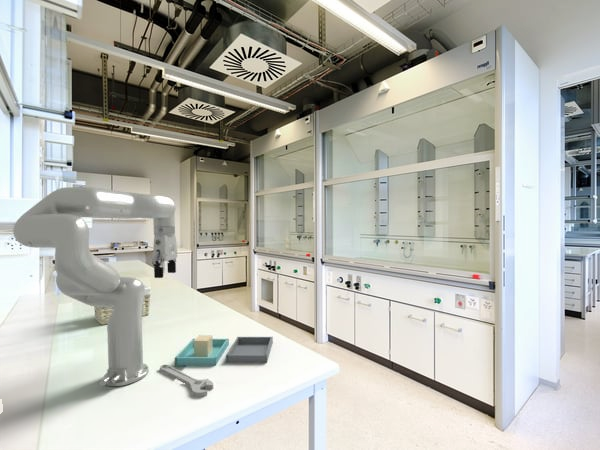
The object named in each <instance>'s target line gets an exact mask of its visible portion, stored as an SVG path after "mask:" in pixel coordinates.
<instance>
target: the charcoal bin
mask: <svg viewBox="0 0 600 450" xmlns="http://www.w3.org/2000/svg"><path fill="white" fill-rule="evenodd" d="M273 338H274V336H237V337H236V339H235V340H234V342H233V344H232V345H231V347H230V348H229V350H228V352H227V354H226V355H225V357H226V361H225V363H230V364H231V363H232V364H233V363H236V364H237V363H244V364H246V363H249V364H251V363H252V364H253V363H259V364H261V363H266V364H267V363H268V360H269V357H270V353H271V350H272V347H273V344H274V341H273V340H274V339H273Z"/></svg>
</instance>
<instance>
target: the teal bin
mask: <svg viewBox="0 0 600 450" xmlns="http://www.w3.org/2000/svg"><path fill="white" fill-rule="evenodd" d="M195 339H196V338H192V339H191V340H190V342H189V343H187V344H186V345H185V347H184V348H183V349H182V350H181V351H179V353H178V354H177V355H176V356H175V357H174V368H186V367H187V366H217V365H218V363H219V361H220V359H221V358H222V357H223V355H224V354H225V351H227V349H228V347H229V345H230V342H229V341H230V340H229V338H212V342H213V352H212V353H211V354H210V355H209V357H194V340H195Z"/></svg>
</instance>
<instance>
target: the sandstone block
mask: <svg viewBox="0 0 600 450" xmlns="http://www.w3.org/2000/svg"><path fill="white" fill-rule="evenodd" d="M194 339H195V340H194V357H209V355H210V354H211V353H212V352H213V342H212V339H213V335H208V334H207V335H206V334H200V335H198V336H197V337H195V338H194Z"/></svg>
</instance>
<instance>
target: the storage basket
mask: <svg viewBox="0 0 600 450" xmlns="http://www.w3.org/2000/svg"><path fill="white" fill-rule="evenodd" d="M143 285H144V288H145V293H144V299H143V304H142V317H145V316H149V315H150V305H151V296H152V287H150V286H148V285H147V284H144V283H143ZM93 310H94V319H95V320H96V321H97V322H98V323H99V325H107V323H108V320H109V318H110V316H111V314H112V312H113V310H114V308H110V307H94V306H93Z"/></svg>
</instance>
